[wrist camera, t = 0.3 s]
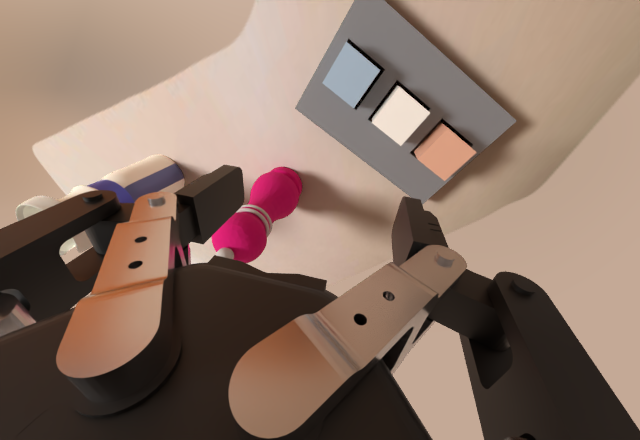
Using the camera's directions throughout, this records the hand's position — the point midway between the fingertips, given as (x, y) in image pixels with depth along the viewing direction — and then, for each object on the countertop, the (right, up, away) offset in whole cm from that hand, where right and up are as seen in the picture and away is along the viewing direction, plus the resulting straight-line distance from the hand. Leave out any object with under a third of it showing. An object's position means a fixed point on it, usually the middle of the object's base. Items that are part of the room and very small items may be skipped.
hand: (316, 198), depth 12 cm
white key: (+10, +12, +18) cm, 24 cm away
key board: (+10, +13, +20) cm, 26 cm away
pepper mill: (-6, +5, +29) cm, 30 cm away
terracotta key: (+16, +8, +19) cm, 26 cm away
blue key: (+4, +16, +17) cm, 24 cm away
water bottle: (-28, +7, +33) cm, 44 cm away
